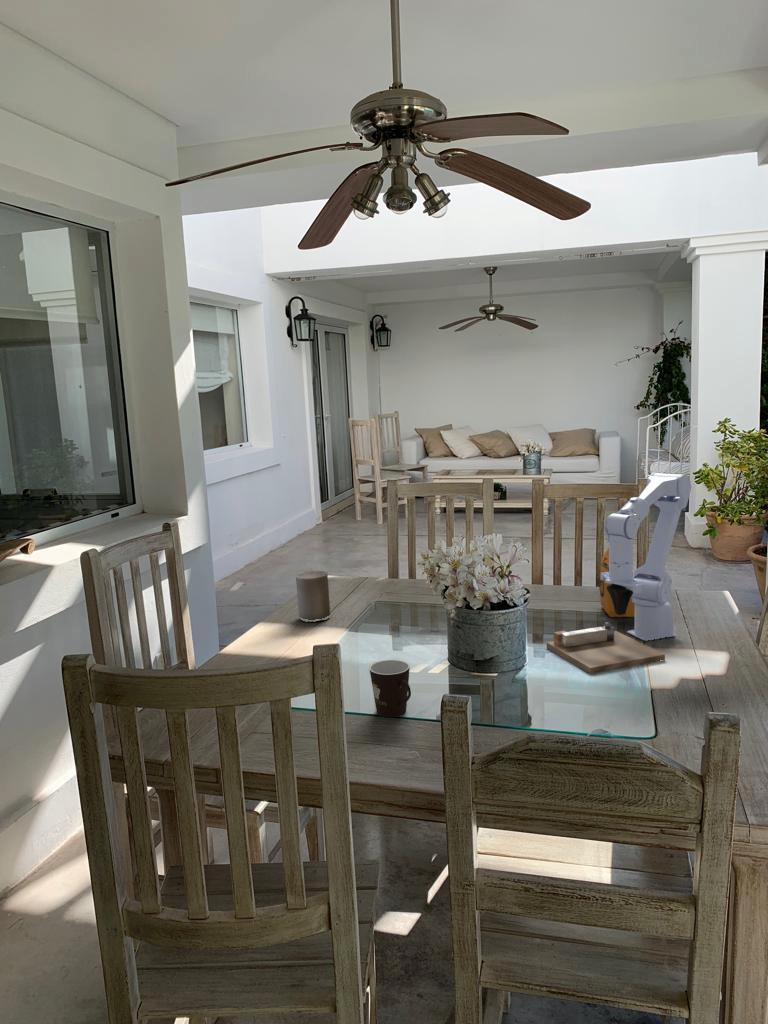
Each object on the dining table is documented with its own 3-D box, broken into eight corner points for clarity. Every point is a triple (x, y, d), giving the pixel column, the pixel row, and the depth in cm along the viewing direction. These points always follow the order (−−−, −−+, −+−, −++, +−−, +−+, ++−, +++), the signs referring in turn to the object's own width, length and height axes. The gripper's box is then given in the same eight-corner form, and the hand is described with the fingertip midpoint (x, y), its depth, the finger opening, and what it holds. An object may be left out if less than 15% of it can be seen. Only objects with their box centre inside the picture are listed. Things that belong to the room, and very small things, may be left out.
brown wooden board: (616, 636, 210) (616, 620, 209) (664, 660, 191) (665, 642, 191) (546, 647, 204) (546, 631, 203) (590, 673, 185) (590, 655, 184)
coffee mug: (370, 704, 173) (368, 661, 172) (409, 701, 174) (407, 658, 172) (373, 727, 162) (371, 681, 160) (415, 724, 163) (413, 678, 161)
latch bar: (609, 635, 205) (609, 620, 205) (616, 639, 202) (616, 623, 202) (560, 643, 201) (559, 628, 200) (566, 647, 198) (566, 631, 197)
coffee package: (602, 618, 226) (603, 543, 222) (597, 606, 238) (597, 534, 234) (638, 618, 224) (639, 543, 221) (631, 606, 236) (632, 534, 233)
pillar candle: (337, 615, 240) (334, 567, 238) (317, 624, 232) (314, 575, 229) (311, 612, 245) (308, 565, 243) (291, 620, 237) (288, 572, 235)
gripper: (590, 557, 202) (590, 608, 204) (624, 569, 188) (624, 623, 191) (614, 554, 204) (613, 604, 206) (649, 566, 191) (648, 620, 193)
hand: (620, 613), depth 199 cm, fingers closed
